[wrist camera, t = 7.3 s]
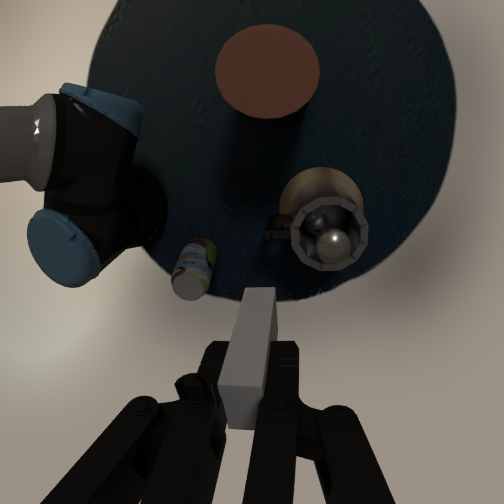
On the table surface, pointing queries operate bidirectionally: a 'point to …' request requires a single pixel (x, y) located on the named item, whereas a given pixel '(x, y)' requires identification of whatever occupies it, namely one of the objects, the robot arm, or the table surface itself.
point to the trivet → (317, 174)
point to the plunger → (329, 232)
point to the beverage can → (194, 268)
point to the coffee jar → (267, 72)
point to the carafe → (305, 241)
